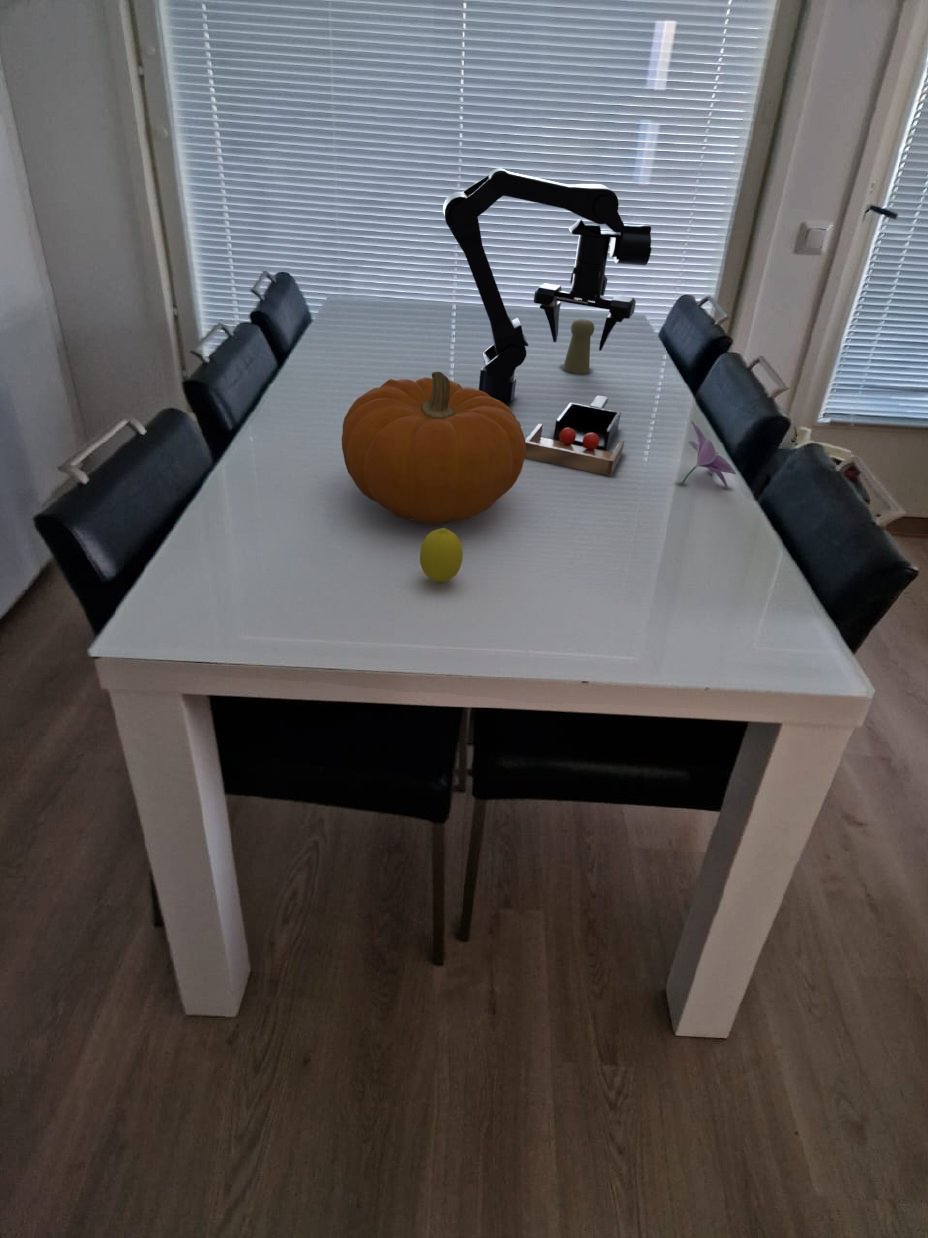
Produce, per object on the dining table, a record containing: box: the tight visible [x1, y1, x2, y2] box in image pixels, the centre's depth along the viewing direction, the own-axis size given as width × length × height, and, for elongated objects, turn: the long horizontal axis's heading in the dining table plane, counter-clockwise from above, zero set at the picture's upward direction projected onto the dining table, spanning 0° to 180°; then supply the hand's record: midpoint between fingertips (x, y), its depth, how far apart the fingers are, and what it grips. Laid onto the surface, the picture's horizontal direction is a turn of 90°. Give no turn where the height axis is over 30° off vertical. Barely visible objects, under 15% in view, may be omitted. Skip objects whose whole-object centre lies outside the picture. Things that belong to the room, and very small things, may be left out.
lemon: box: [419, 527, 464, 584], centre depth 107 cm, size 6×6×8 cm
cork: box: [562, 318, 595, 375], centre depth 186 cm, size 6×6×11 cm
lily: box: [680, 420, 737, 490], centre depth 141 cm, size 12×12×10 cm
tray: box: [525, 423, 625, 477], centre depth 147 cm, size 16×10×3 cm, turn 70°
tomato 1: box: [559, 428, 576, 445], centre depth 151 cm, size 3×3×3 cm
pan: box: [553, 395, 622, 450], centre depth 158 cm, size 18×10×4 cm, turn 160°
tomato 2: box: [582, 433, 599, 450], centre depth 149 cm, size 3×3×3 cm
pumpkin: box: [341, 371, 526, 525], centre depth 123 cm, size 28×28×20 cm
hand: (577, 345), depth 163 cm, fingers open, 9 cm apart
